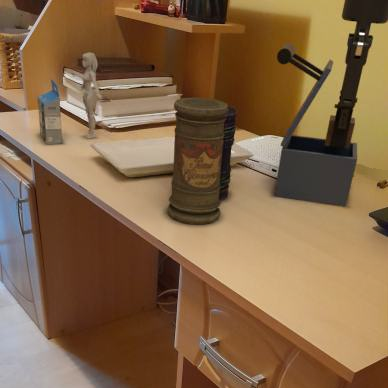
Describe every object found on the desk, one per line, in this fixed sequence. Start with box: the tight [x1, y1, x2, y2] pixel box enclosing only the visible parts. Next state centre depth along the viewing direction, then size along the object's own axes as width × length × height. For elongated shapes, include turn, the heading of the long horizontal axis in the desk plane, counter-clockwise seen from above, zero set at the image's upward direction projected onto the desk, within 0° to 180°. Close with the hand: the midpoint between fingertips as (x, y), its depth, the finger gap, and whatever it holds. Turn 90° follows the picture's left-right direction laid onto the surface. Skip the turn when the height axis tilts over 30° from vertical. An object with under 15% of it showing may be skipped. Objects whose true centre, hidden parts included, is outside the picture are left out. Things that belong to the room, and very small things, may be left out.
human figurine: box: [79, 51, 104, 139], centre depth 120 cm, size 12×4×18 cm, turn 29°
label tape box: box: [37, 78, 63, 145], centre depth 118 cm, size 9×4×12 cm, turn 23°
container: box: [167, 97, 229, 225], centre depth 84 cm, size 9×9×18 cm
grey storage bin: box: [274, 134, 358, 207], centre depth 101 cm, size 14×12×9 cm
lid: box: [276, 43, 334, 147], centre depth 94 cm, size 14×12×9 cm
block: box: [324, 114, 356, 149], centre depth 96 cm, size 4×4×4 cm
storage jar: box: [219, 105, 238, 202], centre depth 94 cm, size 10×10×15 cm
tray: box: [89, 135, 254, 178], centre depth 111 cm, size 17×31×4 cm, turn 119°
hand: (337, 142), depth 97 cm, fingers closed on block, 4 cm apart
